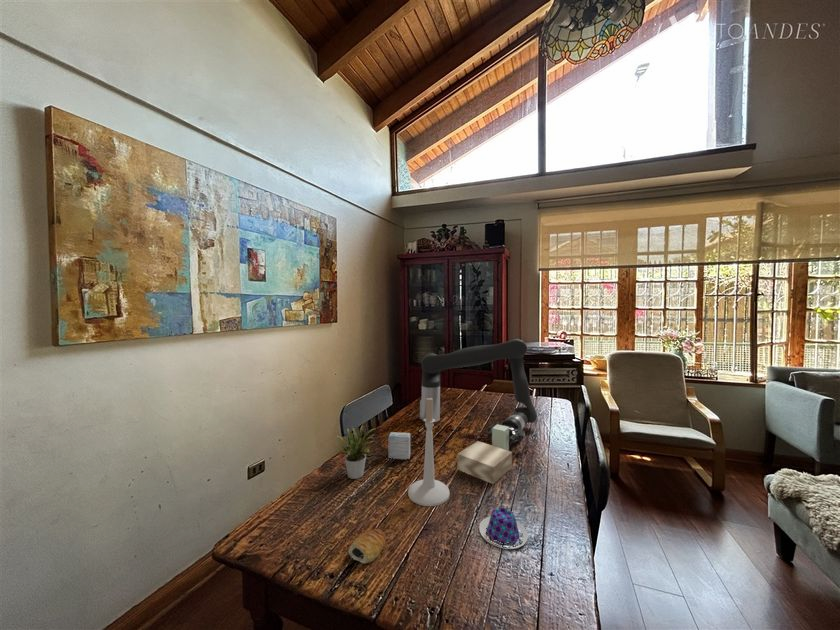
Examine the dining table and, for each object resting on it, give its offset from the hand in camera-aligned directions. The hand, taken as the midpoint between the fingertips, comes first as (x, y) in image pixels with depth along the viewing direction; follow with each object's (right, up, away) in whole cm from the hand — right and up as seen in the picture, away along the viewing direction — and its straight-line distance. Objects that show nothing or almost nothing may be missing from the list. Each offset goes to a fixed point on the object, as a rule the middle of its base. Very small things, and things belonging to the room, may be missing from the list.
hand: (499, 438), depth 125 cm
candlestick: (-28, -7, -26) cm, 39 cm away
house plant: (-52, -6, -16) cm, 55 cm away
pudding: (-10, -8, -43) cm, 45 cm away
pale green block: (+1, -6, +1) cm, 6 cm away
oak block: (-8, -7, -11) cm, 15 cm away
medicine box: (-39, -6, -3) cm, 40 cm away
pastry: (-44, -8, -49) cm, 66 cm away
